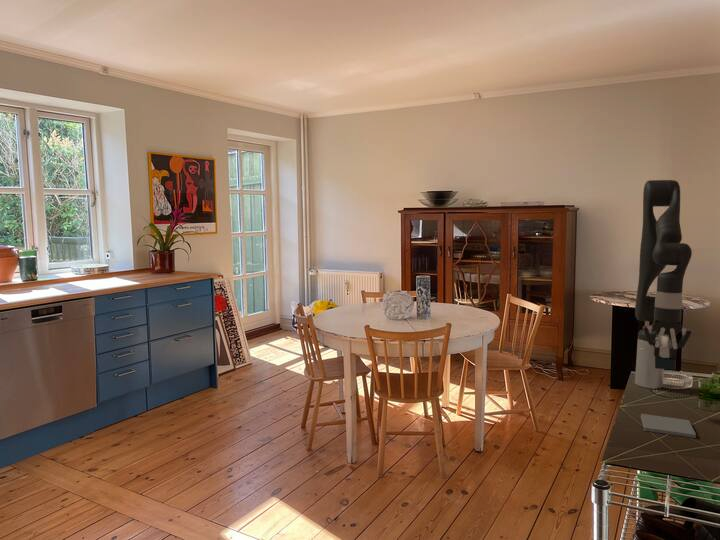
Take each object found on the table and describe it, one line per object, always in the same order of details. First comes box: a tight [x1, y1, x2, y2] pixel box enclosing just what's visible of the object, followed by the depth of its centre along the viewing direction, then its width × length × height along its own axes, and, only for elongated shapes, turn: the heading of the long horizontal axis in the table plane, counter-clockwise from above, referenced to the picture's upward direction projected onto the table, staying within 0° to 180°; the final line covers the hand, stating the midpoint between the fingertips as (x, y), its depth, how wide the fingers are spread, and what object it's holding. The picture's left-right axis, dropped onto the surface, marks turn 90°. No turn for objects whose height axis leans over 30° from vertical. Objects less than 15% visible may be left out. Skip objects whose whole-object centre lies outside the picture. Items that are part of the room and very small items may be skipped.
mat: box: [640, 413, 697, 439], centre depth 162 cm, size 12×13×1 cm
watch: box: [655, 334, 677, 370], centre depth 173 cm, size 6×8×11 cm
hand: (664, 358), depth 173 cm, fingers closed on watch, 3 cm apart
